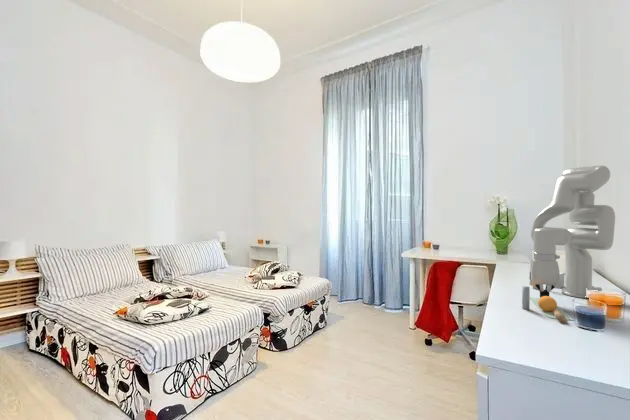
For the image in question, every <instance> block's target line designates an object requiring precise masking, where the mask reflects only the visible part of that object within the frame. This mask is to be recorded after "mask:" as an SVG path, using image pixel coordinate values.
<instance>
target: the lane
mask: <svg viewBox="0 0 630 420" xmlns="http://www.w3.org/2000/svg"><path fill="white" fill-rule="evenodd" d="M539 299H540V297H539V298H538V297H530V301H531V302H532V303H533V304H534V305H535V306H536V307H537V308H538V309H539V311H541V313H542V314H544V316H545V317H546V318H547V319H554V320H555V319H556V320H558V319H557V318H556V317H555V315H554V314H553V311H552V312H547V311H544V310H542V309H541V308H540V307H539V305H538V300H539ZM556 309H557V310H559V311H560V312H561V313H562V314H563V316H564V317H565V318H566V319H567V321H572V320H571V319H570V317H571V316H570V315H569V314H568V313H567V312H566V311H565V310H563V309H562V308H561V307H560V306H559V305H557V308H556ZM569 319H570V320H569Z"/></svg>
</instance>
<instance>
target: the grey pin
mask: <svg viewBox="0 0 630 420" xmlns="http://www.w3.org/2000/svg"><path fill="white" fill-rule="evenodd" d="M521 288H522V289H521V290H522V292H521V295H522V296H521V297H522V301H521V306H522V310H525V311H529V310H530V309H531V308H530V303H531V302H530V301H531V300H530V294H531V293H530V292H531V291H530V286H526V285H522V286H521Z"/></svg>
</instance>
